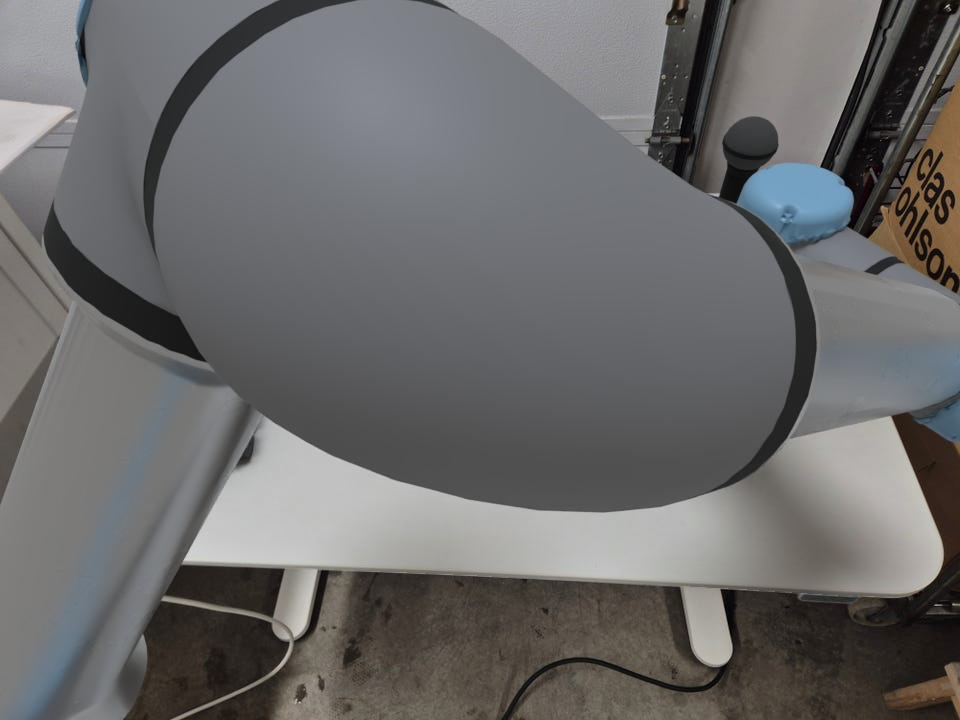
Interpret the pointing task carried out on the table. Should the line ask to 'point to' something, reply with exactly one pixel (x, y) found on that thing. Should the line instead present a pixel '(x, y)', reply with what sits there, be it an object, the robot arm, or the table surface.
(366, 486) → the table surface
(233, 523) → the table surface
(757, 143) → the microphone
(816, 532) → the table surface
